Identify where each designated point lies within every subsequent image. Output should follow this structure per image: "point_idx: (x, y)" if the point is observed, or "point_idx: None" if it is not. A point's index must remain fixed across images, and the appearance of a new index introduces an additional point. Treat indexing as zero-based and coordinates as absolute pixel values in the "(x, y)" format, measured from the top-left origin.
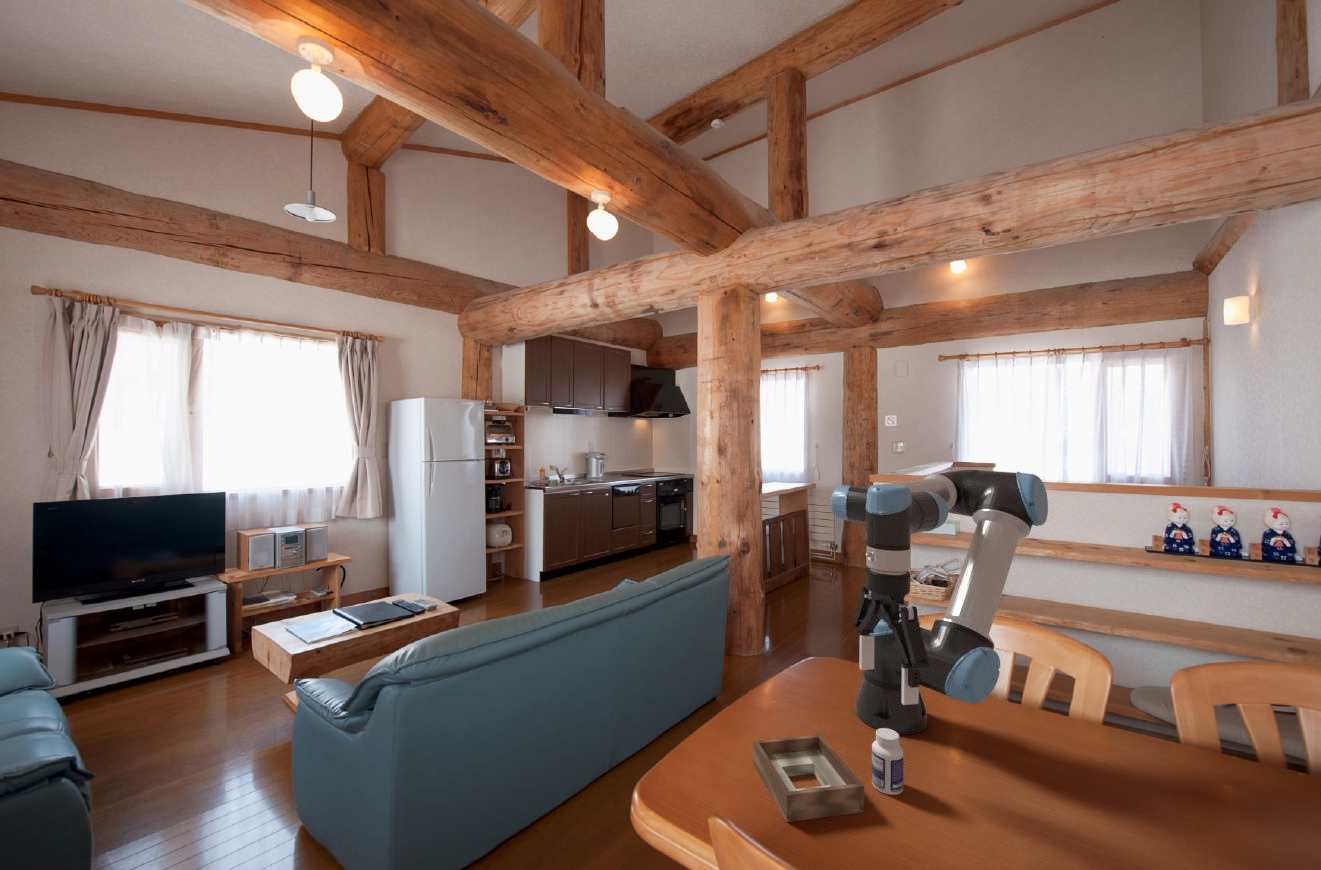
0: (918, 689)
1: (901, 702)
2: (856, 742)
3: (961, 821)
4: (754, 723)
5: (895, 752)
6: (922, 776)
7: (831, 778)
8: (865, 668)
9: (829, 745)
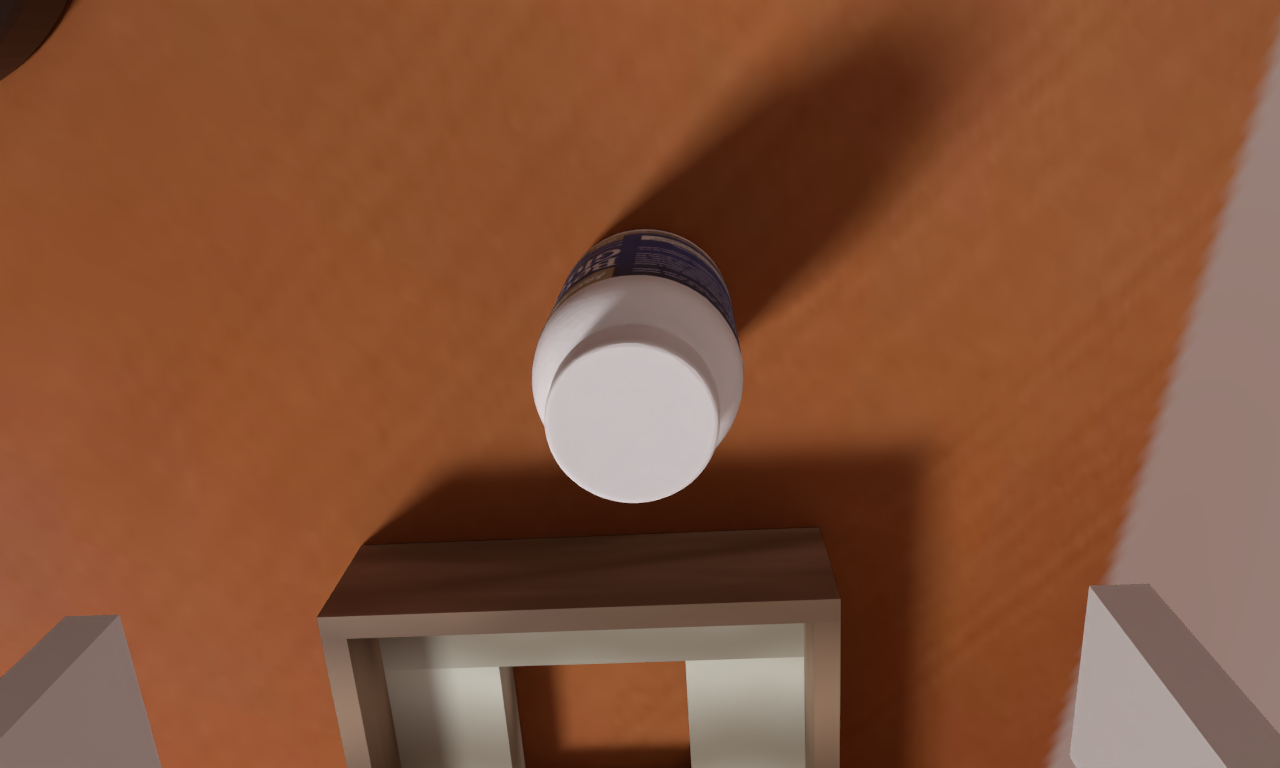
0: (1260, 713)
1: (1074, 761)
2: (206, 273)
3: (986, 56)
4: None
5: (726, 382)
6: (577, 36)
7: (636, 632)
8: (142, 741)
9: (439, 613)
